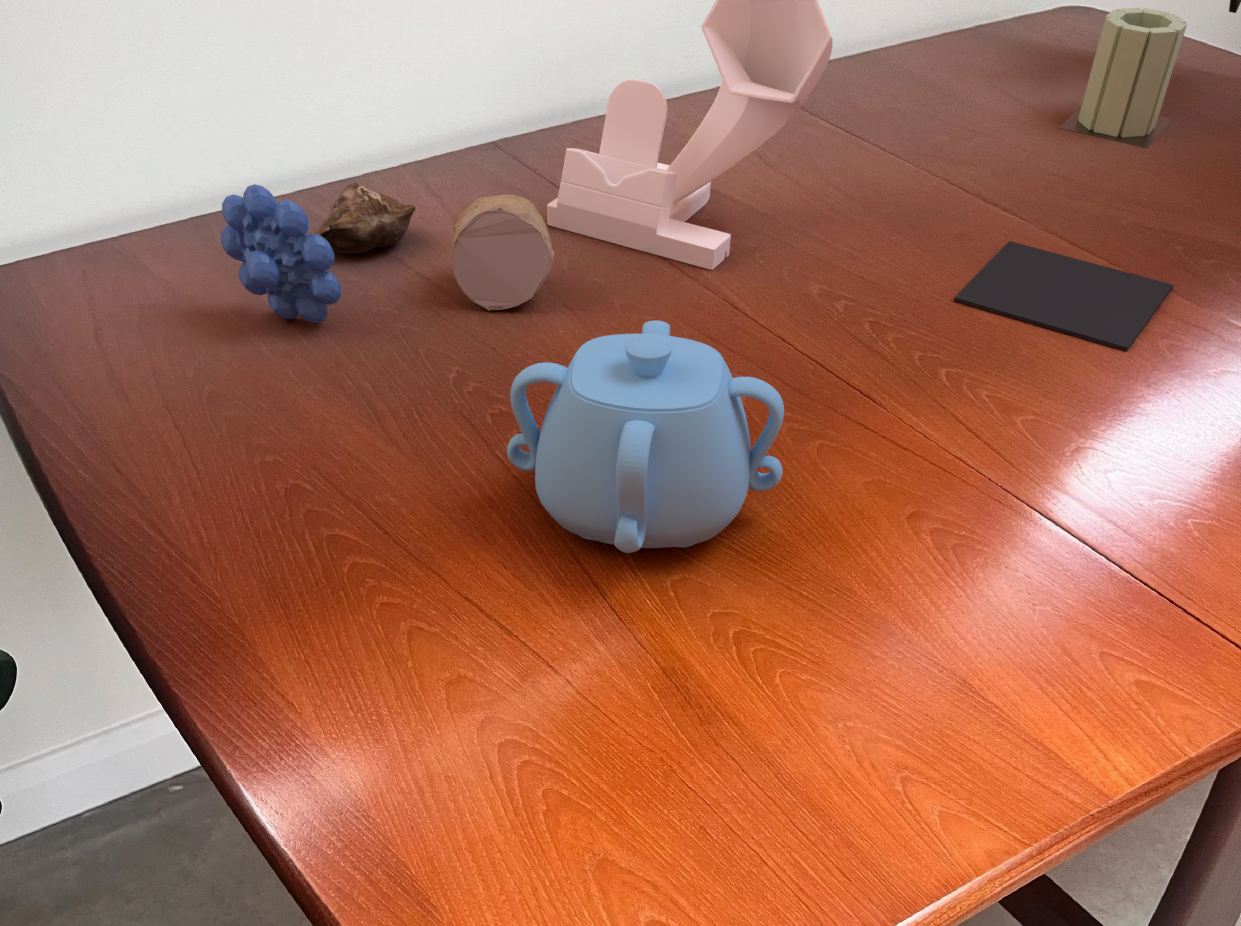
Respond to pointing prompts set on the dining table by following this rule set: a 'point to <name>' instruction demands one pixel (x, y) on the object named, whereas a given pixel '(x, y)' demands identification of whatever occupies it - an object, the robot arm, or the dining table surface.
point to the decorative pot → (645, 440)
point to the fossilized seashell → (364, 221)
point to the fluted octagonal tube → (1131, 71)
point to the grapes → (280, 254)
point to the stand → (1140, 141)
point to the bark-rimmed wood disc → (501, 251)
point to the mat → (1066, 295)
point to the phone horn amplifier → (733, 128)
